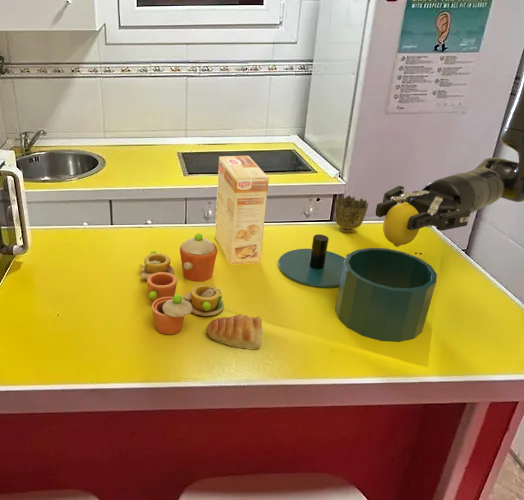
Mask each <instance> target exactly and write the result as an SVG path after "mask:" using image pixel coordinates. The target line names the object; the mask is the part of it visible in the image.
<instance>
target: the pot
mask: <svg viewBox="0 0 524 500" xmlns="http://www.w3.org/2000/svg"><path fill="white" fill-rule="evenodd" d="M344 258H345V260H344V264H343V269H342V275H341V280H340V286H339V287H338V293H337V297H336V303H335V309H334V310H335V313H336V316H337V319H338V320H339V321H340V322H341V323H342V324H343V325H344V326H345V327H346V328H347V329H349V330H350V331H353V332H354V333H357V334H358V335H360V336H362V337H365V338H369V339H372V340H376V341H380V342H391V343H401V342H406V341H411V340H414V339H415V338H417V337H418V336H419V335H421V334H422V333H423V331H424V327H425V323H426V320H427V316H428V312H429V308H430V307H431V306H430V305H431V302H432V298H433V295H434V292H435V287H436V285H437V278H438V274H437V272H436V270H435V269H434V268H433V266H432V265H431V264H429V263H427V262H426V261H425V260H423V259H421V258H420V257H419V256H415V255H412V254H410V253H407V252H405V251H400V250H396V249H390V248H385V247H366V248H361V249H360V248H359V249H355V250H354V251H351V252H350V253H348V254H346V256H345V257H344Z"/></svg>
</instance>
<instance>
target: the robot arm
mask: <svg viewBox="0 0 524 500" xmlns="http://www.w3.org/2000/svg"><path fill="white" fill-rule="evenodd" d="M503 126H504V127H503V129H502V130H501V134H500V138H499V140H500V142H501V144H502V145H504V146H506V147H508V148H510V149H512V150H514V151H515V152H516V153H517V156H518V161H514V160H509V159H506V158H502V157H488V158H485V159H484V160H482V161H481V162H480V163H479V164H478V165H477V166H476V167H475V168H473V169H472V170H469V171H467V172H460V173H455V174H451V175H448V176H445V177H442V178H441V177H440V178H438V179H435V180H433V181H430V182H429V183H427V184H426V185H425V186H424V187H423V188H422V189H421V190H414V191H411V192H408V191H405V187H404V186H403V185H397V186H395V187H394V188H391V189H390V190H387V191H385V192H384V193H383V196H382V202H379V203H377V204H376V208H375V216H376V217H378V218H382V217H385V216H386V214H387V212H388V211H389V210H390V209H391V208H392V207H393V206H395V205H397V204H402V203H404V202H407V203H409V205H411V206H413V207H414V208H415V209H416V210H417V211H418V213H419V214H416V215H414V216H411V217H410V218H409V220H408V225H407V229H409V230H411V231H412V230H415V229H419V230H420V229H422V228H433V226H434V227H436V230H438V231H447V230H452V229H457V228H463V227H467V226H468V223H469V221H470V217H471V214H473V213H475V212H477V211H478V210H480V209H482V208H485V207H488V206H490V205H492V204H494V203H496V202H497V201H499V200H500V199H504V200H508V201H511V202H516V203H521V202H522V203H523V202H524V65H523V66H522V71H521V75H520V80H519V84H518V86H517V91H516V94H515V97H514V99H513V102H512V105H511V107H510V110H509V112H508V115H507V118H506V121H505V124H504V125H503Z"/></svg>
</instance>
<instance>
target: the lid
mask: <svg viewBox="0 0 524 500" xmlns="http://www.w3.org/2000/svg"><path fill="white" fill-rule="evenodd" d="M329 239H330V238H329V236H327V235H325V234H314V235H313V237H312V243H311V248H297V249H293V250H289V251H286V252H285V253H282V255H280V256H279V257H278V262H277V266H278V270H279V271H280V272H281V274H282V275H283V276H285V278H287V279H289V280H290V281H292V282H295V283H297V284H300V285H303V286H307V287H311V288H319V289H334V288H339V286H340V280H341V275H342V269H343V264H344V260H345V258H346V257H344V256H342V255H340V254H338V253H335V252H333V251H329V250H328V247H329Z"/></svg>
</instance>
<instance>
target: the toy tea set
mask: <svg viewBox="0 0 524 500" xmlns="http://www.w3.org/2000/svg"><path fill="white" fill-rule="evenodd" d="M179 254H180V261H181V269H182V274H183V277H184V278H185V279H186V280H188V281H190V282H195V283H201V282H207V281H209V280H210V279H211V278H212V277H213V275H214V274H213V273H214V268H215V264H216V259H217V256H218V247H217V245H216V244H215V243H214V242H212V241H211V240H209V239H207V238H206V237H203V235H202V234H201V232H199V233H196V234H195V235H194V237H191V238H188V239H186V240H185V241H184V242H183V243H181V245H180V246H179ZM171 261H172V260H171V257H170V255H167V254H165V253H162V252H157V250H152V251H150V253H149V254H146V255H145V256H144V258H143V263H144V265H143V264H142V263H141V262H140V261H138V268H139V269H140V272H141V273H140V279H142V280H146V283H147V284H146V285H147V288H148V289H147V290H148V298H149V300H151V301H152V304H151V311H152V316H153V321H154V327H155V329H156V331H157V332H158V333H160V334H163V335H174V334H175V335H176V334H177V333H179V332H180V331H181V330H182V328H183V323H184V319H185V318H184V317H187V316H188V315H190V314H191V313H193V314H195V315H198V316H202V317H211V316H216V315H218V314H221V312H223V310H224V308H225V304H224V301H223V300H222V299H223V295H222V294H223V293H222V290H221V288H220V287H217V286H215V285H212V284H207V283H205V284H204V283H203V284H197V285H195V286H193V287H192V288H191V289H190V292H186V293H184V294H183V298H182V296H181V295H180V294H176V290H177V284H178V278H177V277H176V275H175V269H174V267H173V266H171Z"/></svg>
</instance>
